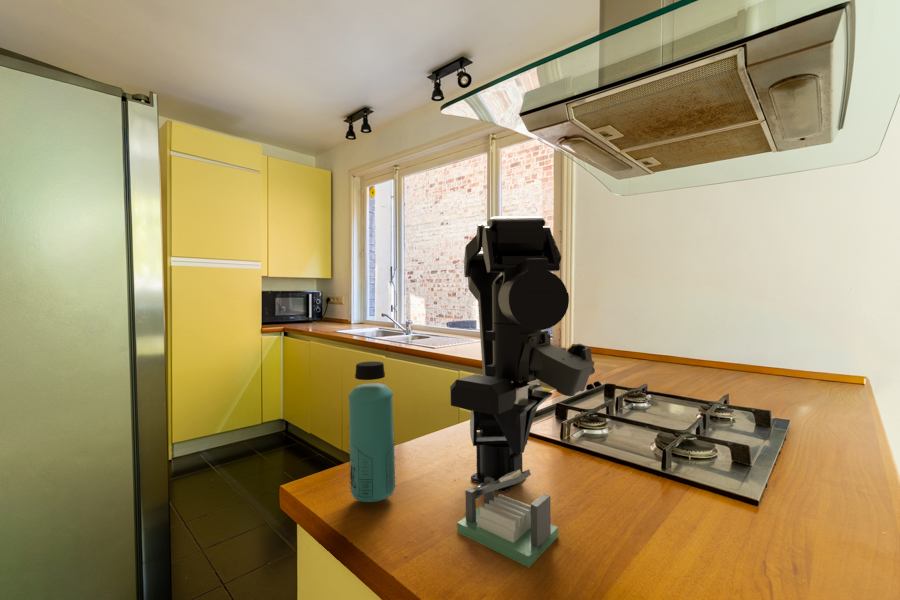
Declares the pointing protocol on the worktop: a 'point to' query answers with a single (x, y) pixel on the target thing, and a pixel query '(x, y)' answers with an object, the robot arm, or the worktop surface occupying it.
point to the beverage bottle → (371, 436)
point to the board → (509, 525)
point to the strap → (502, 482)
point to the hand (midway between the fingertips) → (518, 453)
